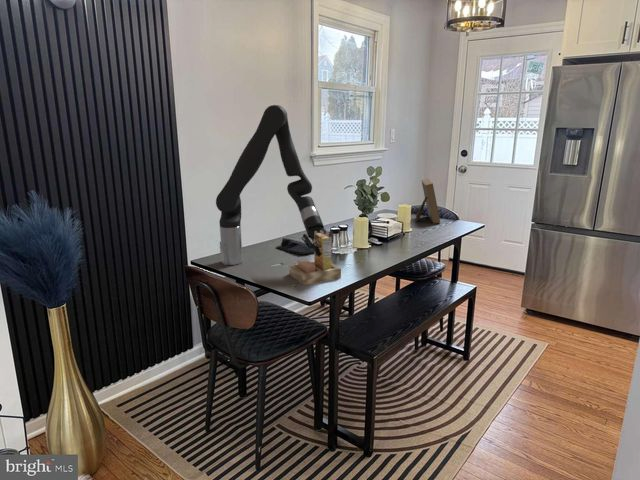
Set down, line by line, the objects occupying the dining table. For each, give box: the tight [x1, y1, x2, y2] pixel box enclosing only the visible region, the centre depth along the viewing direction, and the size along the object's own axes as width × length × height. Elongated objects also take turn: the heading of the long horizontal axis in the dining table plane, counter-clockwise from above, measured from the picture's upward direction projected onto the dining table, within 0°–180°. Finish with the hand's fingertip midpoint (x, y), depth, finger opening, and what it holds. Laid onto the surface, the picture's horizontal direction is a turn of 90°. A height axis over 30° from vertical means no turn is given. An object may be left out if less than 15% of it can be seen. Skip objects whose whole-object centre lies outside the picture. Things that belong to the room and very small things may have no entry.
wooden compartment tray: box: [288, 260, 342, 286], centre depth 181 cm, size 16×14×6 cm
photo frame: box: [414, 178, 441, 225], centre depth 282 cm, size 15×22×25 cm
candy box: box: [313, 233, 333, 270], centre depth 181 cm, size 9×4×15 cm, turn 25°
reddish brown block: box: [297, 259, 315, 273], centre depth 179 cm, size 4×8×6 cm, turn 27°
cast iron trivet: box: [275, 237, 314, 256], centre depth 223 cm, size 15×22×5 cm
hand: (324, 254), depth 180 cm, fingers closed on candy box, 4 cm apart
